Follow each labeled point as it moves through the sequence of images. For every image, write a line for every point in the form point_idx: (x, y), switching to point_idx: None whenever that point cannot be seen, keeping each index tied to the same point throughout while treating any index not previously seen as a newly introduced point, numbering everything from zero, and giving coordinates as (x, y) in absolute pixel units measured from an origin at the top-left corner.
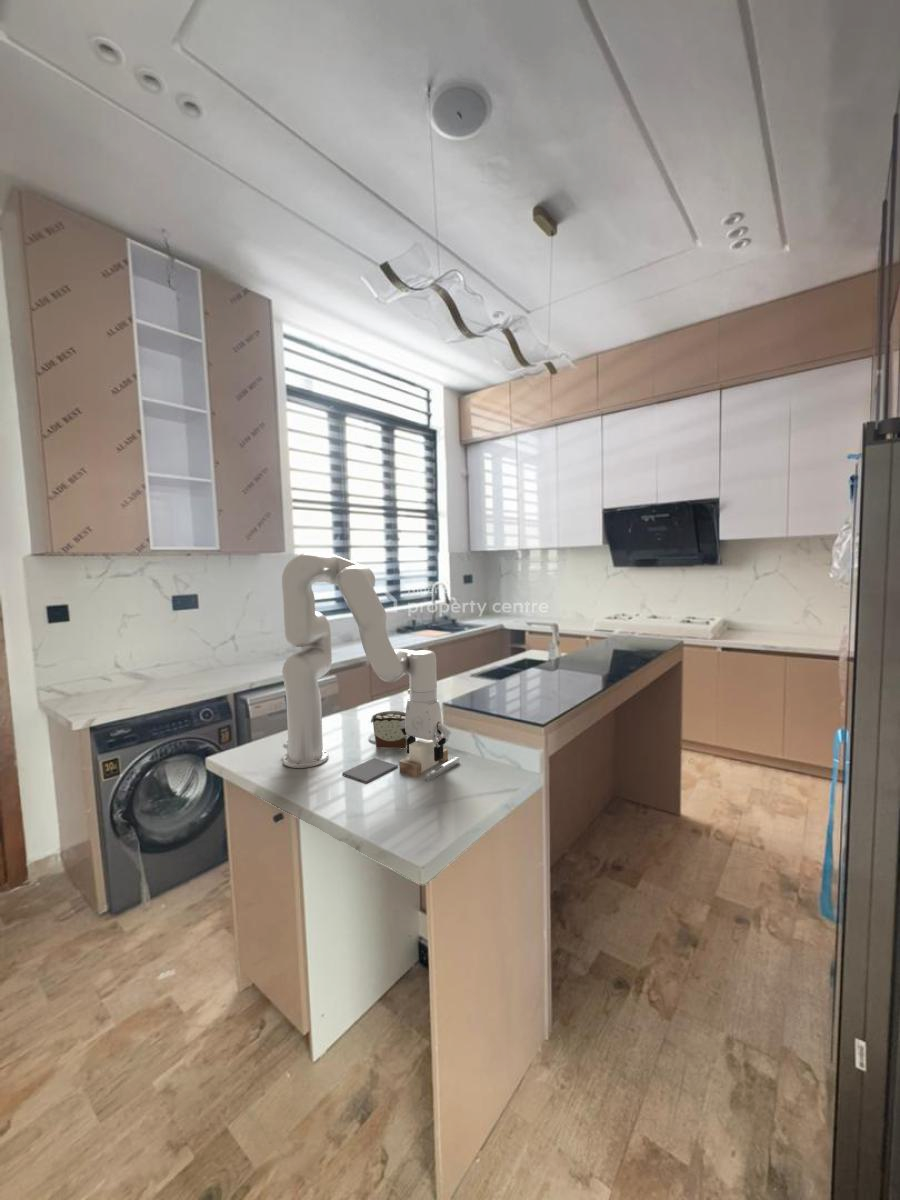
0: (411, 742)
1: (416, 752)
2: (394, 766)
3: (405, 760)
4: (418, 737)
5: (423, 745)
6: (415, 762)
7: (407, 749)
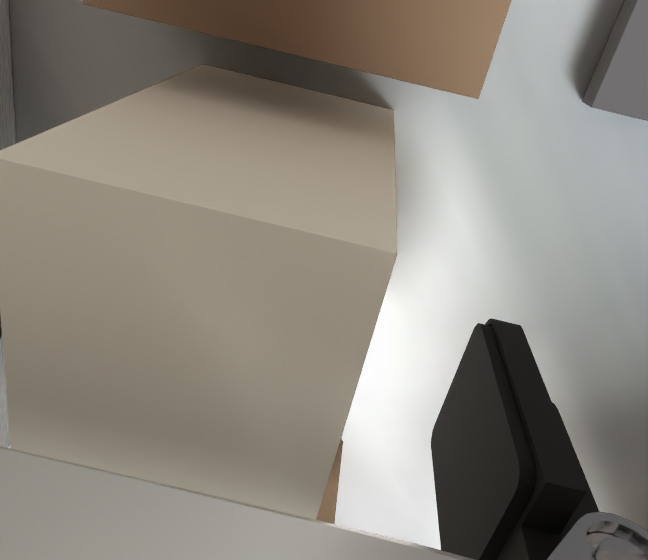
0: (482, 486)
1: (186, 144)
2: (624, 41)
3: (422, 33)
4: (75, 465)
5: (25, 308)
6: (205, 19)
7: (521, 354)
